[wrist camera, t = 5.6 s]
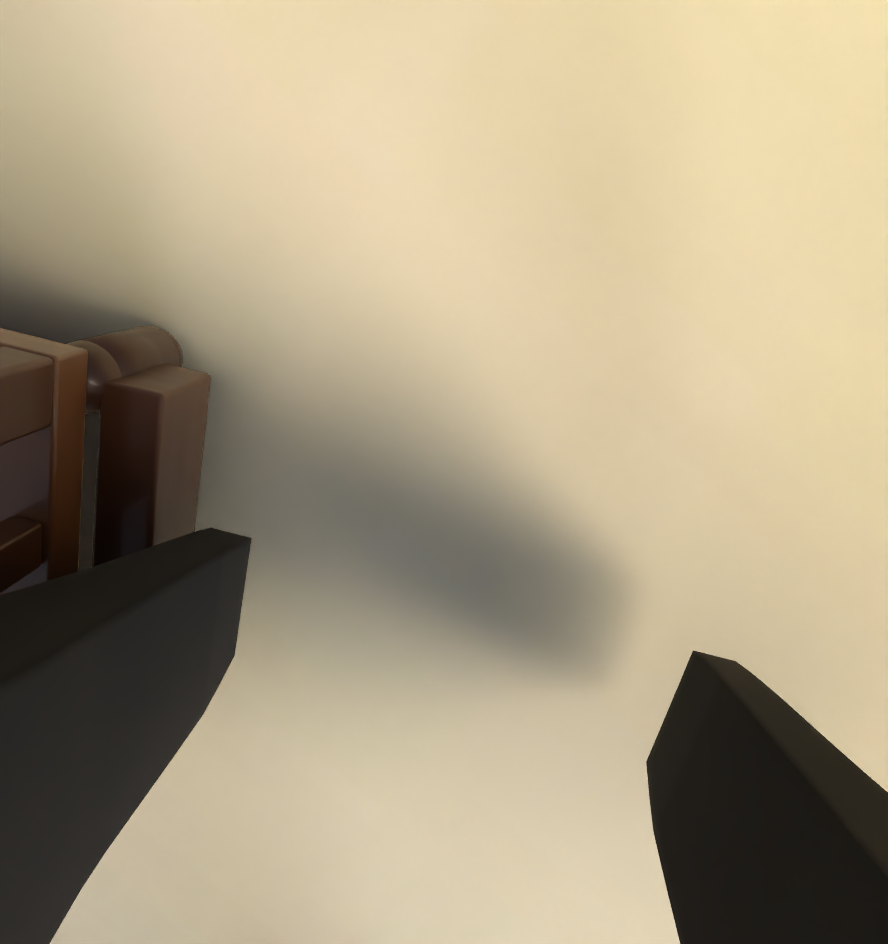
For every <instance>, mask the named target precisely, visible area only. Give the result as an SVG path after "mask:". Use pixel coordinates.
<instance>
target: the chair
mask: <svg viewBox="0 0 888 944" xmlns="http://www.w3.org/2000/svg"><path fill="white" fill-rule="evenodd" d="M182 364H183V355H182V351H181V348H180V346H179V344H178V342H177V341H176V340H175V338H174V337H173V336H172V335H170V334H169V333H168V332H166V331H164V330H162V329H160V328H157V327H152V326H141V327H136V328H131V329H127V330H122V331H118V332H113V333H109V334H104V335H100V336H95V337H91V338H86V339H81V340H77V341H73V342H70V343H67V344H63V343H59V342H55V341H51V340H47V339H43V338H39V337H35V336H31V335H27V334H23V333H19V332H15V331H11V330H7V329H3V328H0V595H1V594H5V593H9V592H12V591H16V590H19V589H22V588H26V587H29V586H32V585H36V584H39V583H42V582H45V581H49V580H52V579H55V578H59V577H62V576H65V575H69V574H72V573H75V572H78V570H79V547H80V524H81V501H82V478H83V455H84V432H85V413H88V414H89V413H98V412H100V418H99V438H98V457H97V477H96V496H95V516H94V535H93V555H92V567H94V566H97V565H100V564H103V563H106V562H109V561H112V560H115V559H117V558H120V557H123V556H126V555H129V554H132V553H135V552H138V551H141V550H143V549H146V548H149V547H152V546H155V545H158V544H160V543H163V542H166V541H169V540H172V539H175V538H178V537H181V536H184V535H187V534H190V533H193V532H194V529H195V519H196V510H197V501H198V491H199V482H200V473H201V464H202V454H203V445H204V436H205V427H206V417H207V408H208V399H209V389H210V380H211V377H210V375H209V374H207V373H203V372H199V371H195V370H191V369H187V368H183V367H182Z"/></svg>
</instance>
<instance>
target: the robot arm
mask: <svg viewBox="0 0 888 944" xmlns="http://www.w3.org/2000/svg"><path fill="white" fill-rule="evenodd" d="M250 544H251V538H249V537H245V536H241V535H238V534H234V533H230V532H226V531H222V530H218V529H214V528H208V529H204V530H200V531H196V532H193V533H190V534H187V535H184V536H181V537H178V538H175V539H172V540H169V541H166V542H163V543H160V544H158V545H155V546H152V547H149V548H146V549H143V550H141V551H138V552H135V553H132V554H129V555H126V556H123V557H120V558H117V559H115V560H112V561H109V562H106V563H103V564H100V565H97V566H94V567H91V568H88V569H85V570H82V571H78V572H75V573H72V574H69V575H65V576H62V577H59V578H55V579H52V580H49V581H45V582H42V583H39V584H36V585H32V586H29V587H26V588H22V589H19V590H16V591H12V592H9V593H5V594H1V595H0V944H49V943H50V942H51V940H52V938H53V936H54V935H55V933H56V931H57V930H58V928H59V926H60V924H61V923H62V921H63V919H64V918H65V916H66V914H67V912H68V911H69V909H70V907H71V906H72V904H73V902H74V900H75V899H76V897H77V895H78V894H79V892H80V890H81V889H82V887H83V886H84V884H85V882H86V881H87V879H88V878H89V876H90V875H91V873H92V872H93V870H94V869H95V867H96V866H97V864H98V863H99V861H100V860H101V858H102V857H103V855H104V854H105V852H106V851H107V849H108V848H109V846H110V845H111V844H112V842H113V841H114V839H115V838H116V837H117V835H118V834H119V832H120V831H121V830H122V828H123V827H124V825H125V824H126V823H127V821H128V820H129V818H130V817H131V816H132V814H133V813H134V811H135V810H136V809H137V807H138V806H139V804H140V803H141V802H142V800H143V799H144V797H145V796H146V795H147V793H148V792H149V790H150V789H151V788H152V786H153V785H154V783H155V782H156V781H157V779H158V778H159V776H160V775H161V774H162V772H163V771H164V769H165V768H166V767H167V765H168V764H169V762H170V761H171V760H172V758H173V757H174V755H175V754H176V752H177V751H178V750H179V748H180V747H181V745H182V744H183V742H184V741H185V740H186V738H187V737H188V735H189V734H190V732H191V731H192V730H193V728H194V727H195V725H196V724H197V722H198V721H199V719H200V718H201V717H202V715H203V714H204V712H205V710H206V708H207V706H208V705H209V703H210V701H211V699H212V697H213V695H214V694H215V692H216V690H217V688H218V686H219V684H220V682H221V680H222V678H223V676H224V675H225V673H226V671H227V669H228V667H229V665H230V663H231V661H232V659H233V657H234V655H235V648H236V641H237V634H238V627H239V620H240V613H241V606H242V599H243V592H244V585H245V579H246V572H247V565H248V558H249V551H250ZM647 774H648V785H649V796H650V805H651V814H652V822H653V830H654V835H655V840H656V844H657V849H658V853H659V857H660V861H661V866H662V870H663V874H664V878H665V883H666V887H667V891H668V895H669V899H670V903H671V907H672V911H673V915H674V920H675V924H676V928H677V932H678V936H679V940H680V944H888V792H886V791H885V790H884V789H883V788H882V787H881V786H879V785H878V784H877V783H876V782H875V781H874V780H872V779H871V778H870V777H869V776H868V775H867V774H866V773H864V772H863V771H862V770H861V769H860V768H859V767H858V766H856V765H855V764H854V763H853V762H852V761H851V760H850V759H848V758H847V757H846V756H845V755H844V754H843V753H842V752H841V751H839V750H838V749H837V748H836V747H835V746H834V745H833V744H832V743H830V742H829V741H828V740H827V739H826V738H825V737H824V736H823V735H822V734H820V733H819V732H818V731H817V730H816V729H815V728H814V727H813V726H812V725H810V724H809V723H808V722H807V721H806V720H805V719H804V718H803V717H802V716H800V715H799V714H798V713H797V712H796V711H795V710H794V709H793V708H792V707H790V706H789V705H788V704H787V703H786V702H785V701H784V700H783V699H781V698H780V697H779V696H778V695H777V694H776V693H775V692H773V691H772V690H771V689H770V688H769V687H768V686H766V685H765V684H764V683H763V682H762V681H761V680H759V679H758V678H757V677H756V676H754V675H753V674H752V673H751V672H749V671H748V670H747V669H745V668H744V667H743V666H741V665H740V664H738V663H737V662H736V661H732V660H728V659H724V658H720V657H717V656H713V655H709V654H705V653H701V652H697V651H693V652H692V655H691V657H690V660H689V662H688V664H687V667H686V669H685V671H684V674H683V676H682V679H681V681H680V683H679V686H678V688H677V690H676V693H675V695H674V698H673V700H672V702H671V705H670V707H669V709H668V712H667V714H666V717H665V719H664V721H663V724H662V726H661V728H660V731H659V733H658V736H657V738H656V740H655V743H654V745H653V748H652V750H651V752H650V755H649V757H648V759H647Z"/></svg>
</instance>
